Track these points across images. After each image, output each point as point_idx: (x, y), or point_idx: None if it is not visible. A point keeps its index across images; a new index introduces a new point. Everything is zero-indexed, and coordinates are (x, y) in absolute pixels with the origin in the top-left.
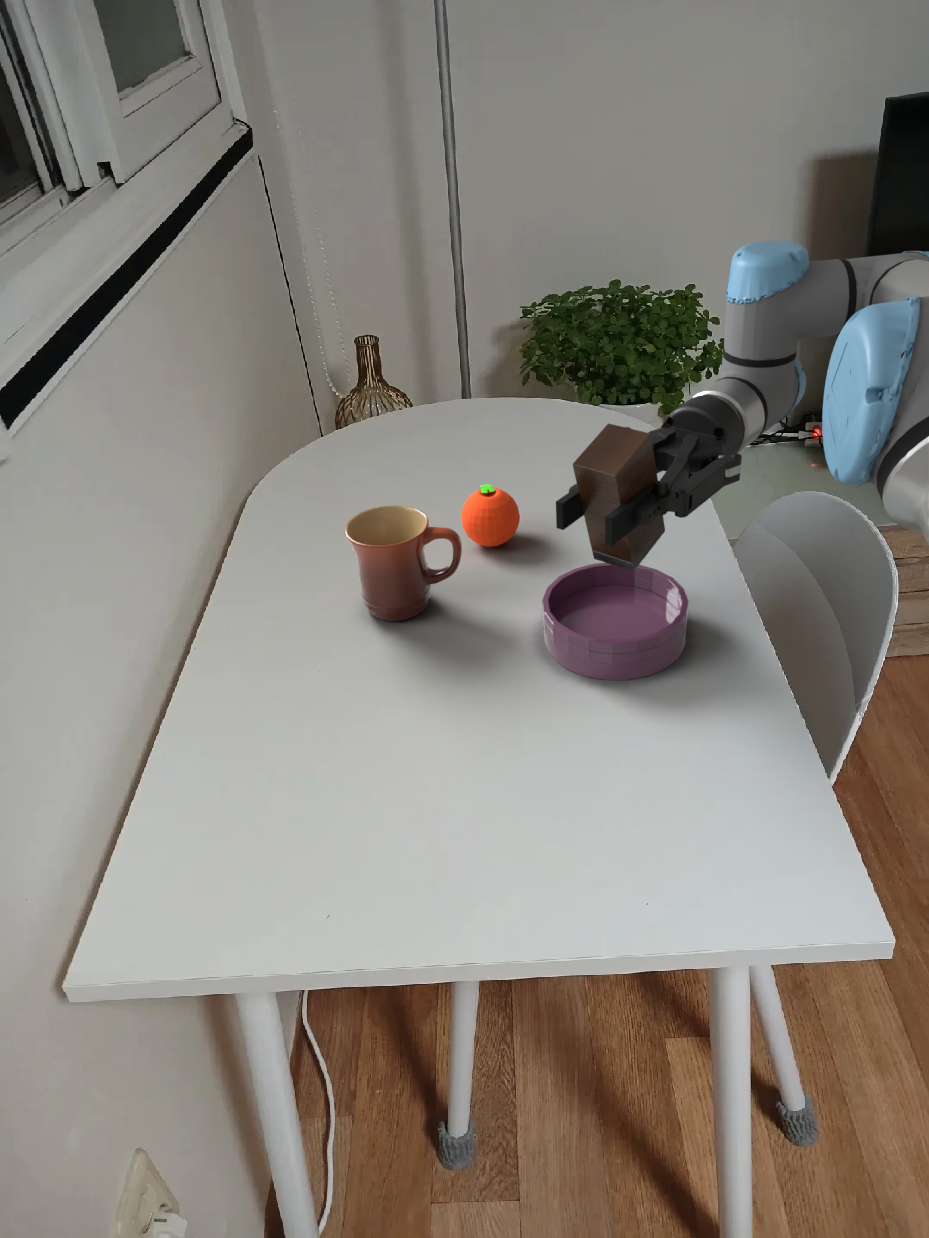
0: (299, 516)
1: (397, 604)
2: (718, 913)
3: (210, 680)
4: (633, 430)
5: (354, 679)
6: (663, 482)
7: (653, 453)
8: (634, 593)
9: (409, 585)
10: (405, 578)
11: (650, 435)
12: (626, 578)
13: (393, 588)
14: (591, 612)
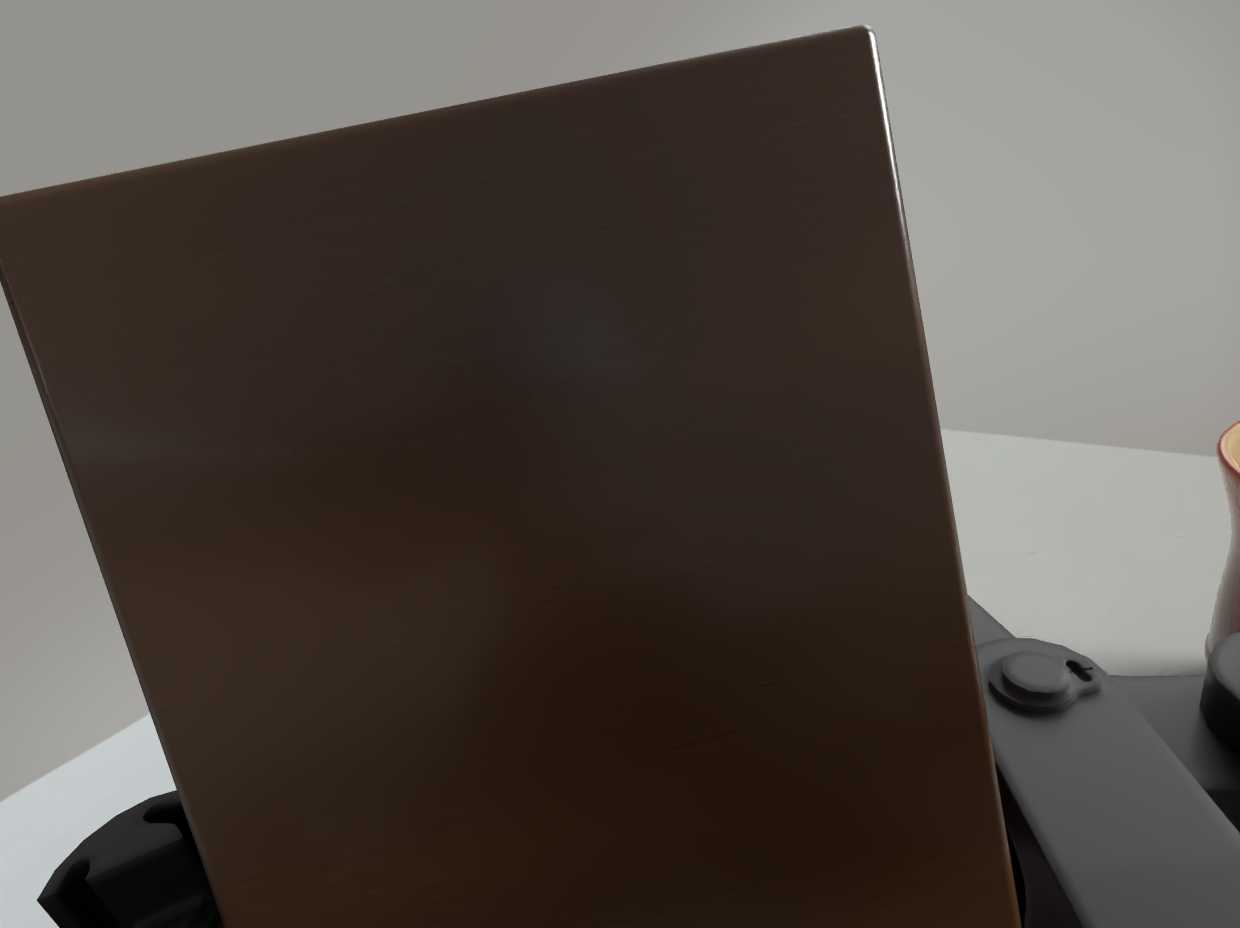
0: None
1: (1207, 644)
2: (136, 750)
3: (1072, 458)
4: (340, 132)
5: (972, 583)
6: (105, 857)
7: (132, 633)
8: None
9: (1235, 630)
10: (1237, 600)
11: (1, 231)
12: None
13: (1218, 595)
14: None
